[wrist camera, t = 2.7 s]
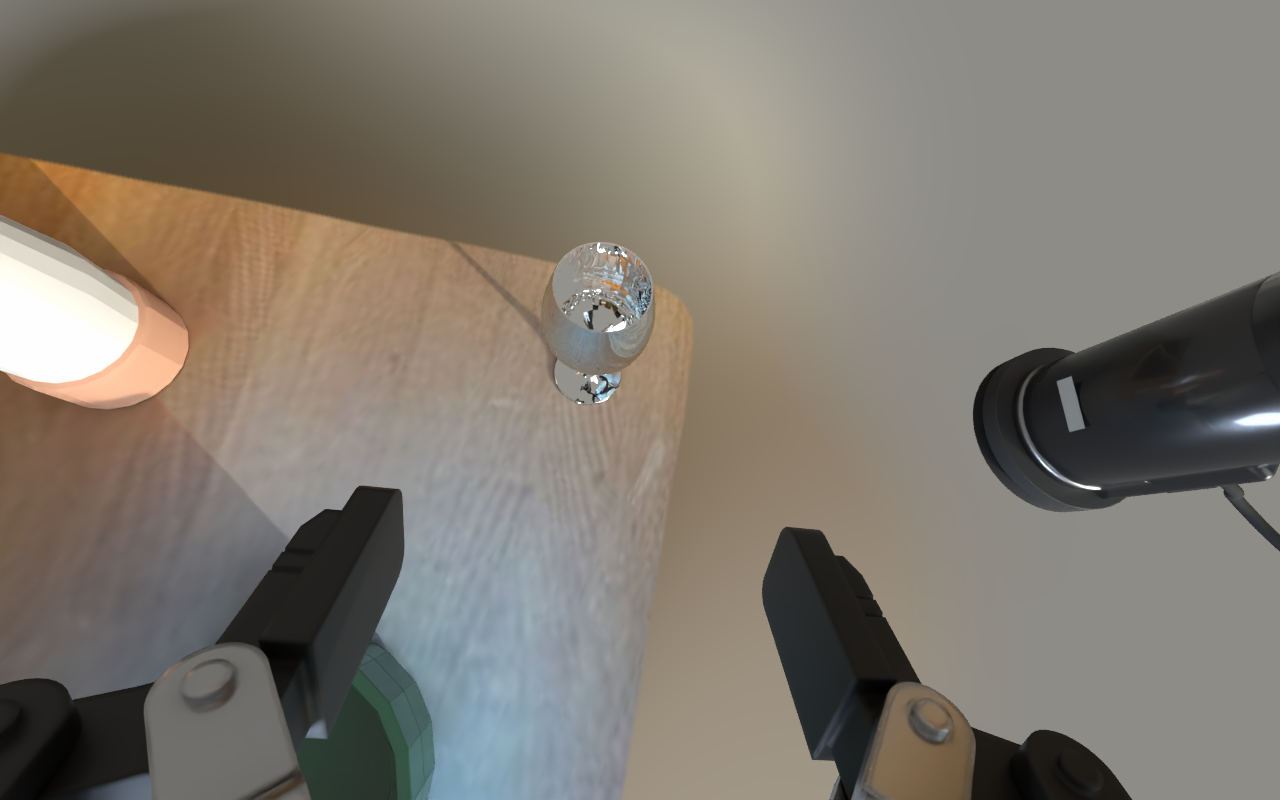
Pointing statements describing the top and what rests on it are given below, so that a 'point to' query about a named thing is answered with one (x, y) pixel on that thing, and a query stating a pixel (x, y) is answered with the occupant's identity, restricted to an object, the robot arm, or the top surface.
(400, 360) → the top surface
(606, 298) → the wineglass
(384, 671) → the green bowl
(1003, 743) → the robot arm
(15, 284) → the salt shaker
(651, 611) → the top surface
